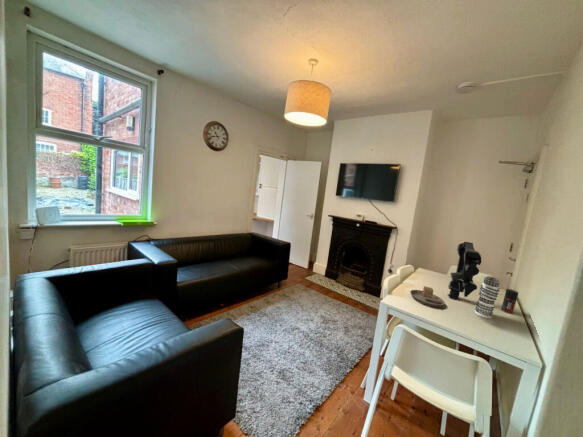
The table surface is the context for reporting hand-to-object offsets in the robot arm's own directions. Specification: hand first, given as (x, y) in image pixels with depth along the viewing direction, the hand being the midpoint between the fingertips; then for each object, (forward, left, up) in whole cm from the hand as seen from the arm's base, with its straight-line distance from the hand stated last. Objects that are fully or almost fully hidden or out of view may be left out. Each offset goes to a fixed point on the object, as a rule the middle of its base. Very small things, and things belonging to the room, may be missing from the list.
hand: (462, 293), depth 146 cm
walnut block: (-4, -18, -9) cm, 21 cm away
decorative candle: (-6, +15, -12) cm, 20 cm away
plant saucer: (-4, -18, -13) cm, 22 cm away
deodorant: (-23, +34, -12) cm, 43 cm away
